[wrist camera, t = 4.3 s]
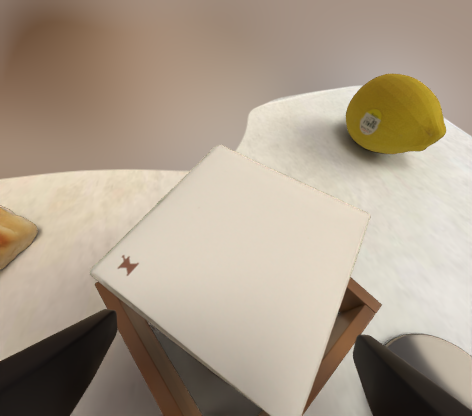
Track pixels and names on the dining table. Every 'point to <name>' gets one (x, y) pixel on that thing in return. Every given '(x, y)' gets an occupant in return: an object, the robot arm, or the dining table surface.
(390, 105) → the lemon
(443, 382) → the slate coaster
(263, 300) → the white packaging box
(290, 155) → the dining table surface
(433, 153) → the dining table surface
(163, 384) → the brown square shallow frame
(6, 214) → the pastry
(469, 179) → the dining table surface
